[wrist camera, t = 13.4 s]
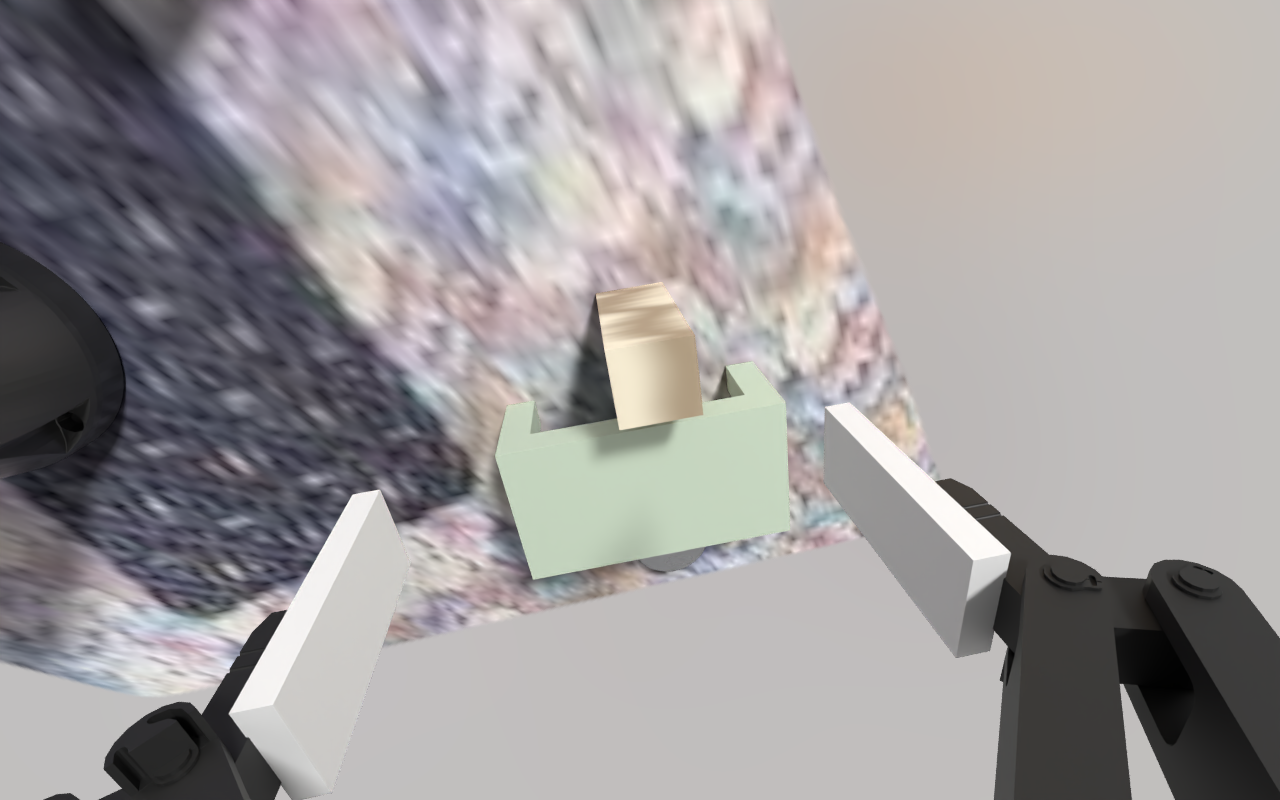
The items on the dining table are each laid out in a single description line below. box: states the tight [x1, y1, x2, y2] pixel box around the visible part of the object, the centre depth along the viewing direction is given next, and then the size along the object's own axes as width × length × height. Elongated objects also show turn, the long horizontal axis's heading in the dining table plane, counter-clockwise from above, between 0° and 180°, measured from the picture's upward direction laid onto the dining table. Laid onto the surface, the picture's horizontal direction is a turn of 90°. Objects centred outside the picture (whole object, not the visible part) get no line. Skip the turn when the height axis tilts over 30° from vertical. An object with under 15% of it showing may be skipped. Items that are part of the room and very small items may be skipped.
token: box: [639, 547, 705, 571], centre depth 46 cm, size 6×6×2 cm
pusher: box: [596, 282, 703, 430], centre depth 36 cm, size 4×18×11 cm, turn 9°
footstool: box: [495, 361, 790, 580], centre depth 39 cm, size 18×10×7 cm, turn 98°
